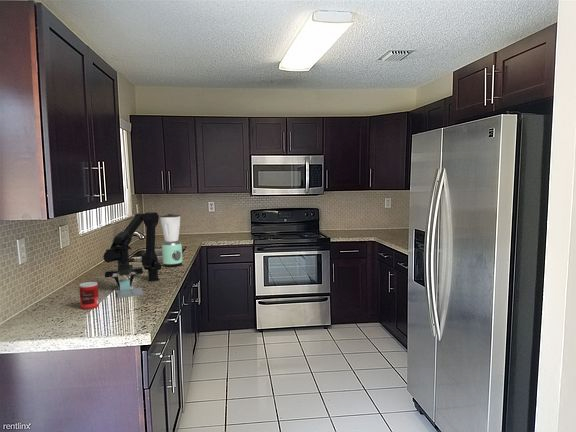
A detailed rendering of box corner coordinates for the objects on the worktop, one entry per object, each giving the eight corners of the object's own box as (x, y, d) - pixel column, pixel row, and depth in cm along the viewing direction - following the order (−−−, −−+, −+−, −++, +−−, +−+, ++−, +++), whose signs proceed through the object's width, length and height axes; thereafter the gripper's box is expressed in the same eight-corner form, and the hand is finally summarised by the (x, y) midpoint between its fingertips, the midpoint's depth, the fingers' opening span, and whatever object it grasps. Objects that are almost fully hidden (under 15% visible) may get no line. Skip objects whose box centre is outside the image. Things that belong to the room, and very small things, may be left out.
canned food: (94, 303, 194) (92, 280, 193) (102, 306, 189) (100, 283, 188) (77, 307, 188) (75, 284, 187) (85, 310, 183) (83, 286, 182)
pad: (117, 292, 213) (117, 290, 213) (141, 289, 218) (141, 287, 217) (117, 298, 202) (117, 296, 202) (143, 294, 207) (143, 292, 207)
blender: (188, 265, 276) (185, 214, 273) (169, 268, 267) (166, 215, 264) (174, 261, 290) (171, 212, 287) (156, 264, 281) (153, 214, 278)
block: (119, 289, 219) (119, 280, 219) (129, 287, 221) (129, 278, 221) (120, 291, 215) (119, 282, 214) (130, 290, 217) (129, 280, 216)
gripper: (103, 263, 205) (105, 293, 207) (142, 259, 213) (144, 288, 214) (103, 259, 216) (105, 288, 217) (141, 256, 223) (142, 284, 224)
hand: (124, 287), depth 218 cm, fingers closed on block, 5 cm apart
